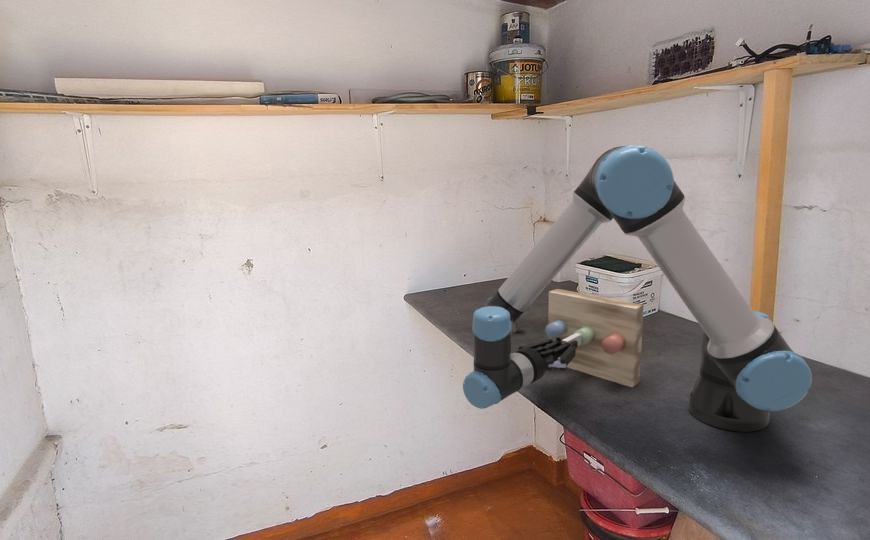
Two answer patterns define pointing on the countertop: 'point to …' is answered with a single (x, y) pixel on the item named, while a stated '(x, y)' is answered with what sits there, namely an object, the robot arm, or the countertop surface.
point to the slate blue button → (556, 329)
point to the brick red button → (613, 343)
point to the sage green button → (586, 335)
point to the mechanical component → (516, 321)
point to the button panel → (601, 333)
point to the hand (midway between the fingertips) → (578, 338)
